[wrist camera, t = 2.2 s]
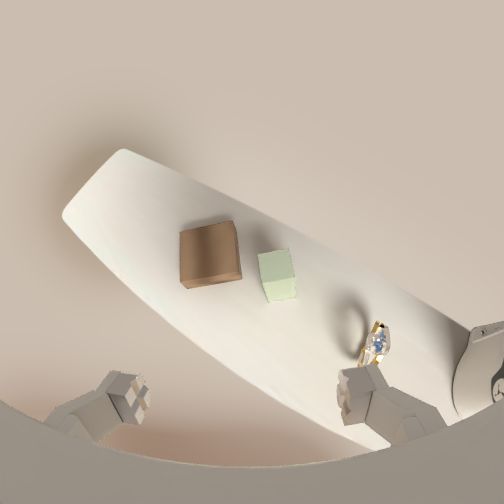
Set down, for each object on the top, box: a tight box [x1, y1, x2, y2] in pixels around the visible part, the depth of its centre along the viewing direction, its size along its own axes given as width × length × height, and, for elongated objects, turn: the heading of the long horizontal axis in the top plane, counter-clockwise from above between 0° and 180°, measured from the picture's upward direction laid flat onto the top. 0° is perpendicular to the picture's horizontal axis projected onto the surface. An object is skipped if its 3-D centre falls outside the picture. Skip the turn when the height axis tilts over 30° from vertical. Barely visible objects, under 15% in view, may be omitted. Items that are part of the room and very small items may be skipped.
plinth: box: [180, 221, 242, 289], centre depth 43 cm, size 9×9×3 cm
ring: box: [356, 321, 390, 367], centre depth 30 cm, size 7×3×8 cm, turn 148°
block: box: [257, 248, 296, 303], centre depth 37 cm, size 4×4×8 cm
